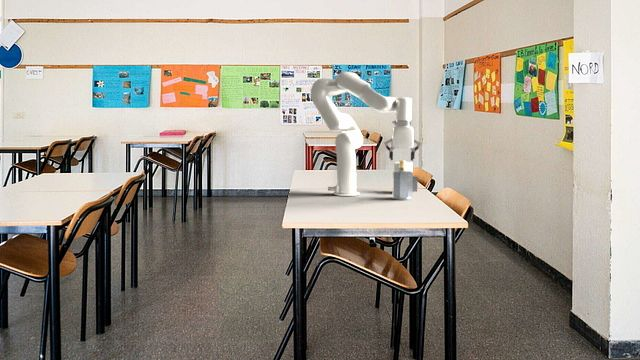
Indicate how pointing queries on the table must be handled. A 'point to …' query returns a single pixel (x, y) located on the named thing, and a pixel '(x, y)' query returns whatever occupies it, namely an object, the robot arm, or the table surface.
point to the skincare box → (396, 166)
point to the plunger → (402, 165)
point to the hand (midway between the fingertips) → (401, 160)
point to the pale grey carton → (404, 185)
